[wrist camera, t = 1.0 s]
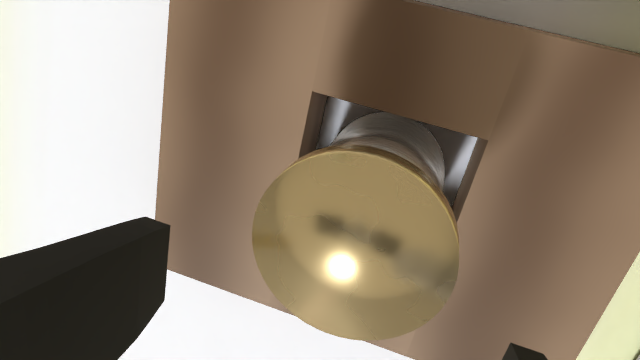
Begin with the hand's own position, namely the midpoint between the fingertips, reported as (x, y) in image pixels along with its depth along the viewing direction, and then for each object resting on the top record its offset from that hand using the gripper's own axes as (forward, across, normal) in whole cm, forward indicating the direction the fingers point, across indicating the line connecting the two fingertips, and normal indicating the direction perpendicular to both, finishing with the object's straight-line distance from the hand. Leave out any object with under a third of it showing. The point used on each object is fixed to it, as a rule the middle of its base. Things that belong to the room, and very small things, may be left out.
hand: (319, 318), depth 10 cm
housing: (+9, 0, 0) cm, 9 cm away
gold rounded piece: (+9, 0, 0) cm, 9 cm away
